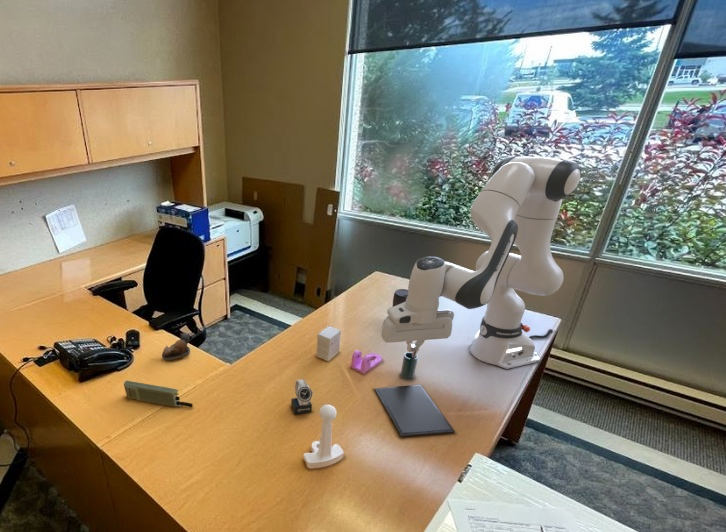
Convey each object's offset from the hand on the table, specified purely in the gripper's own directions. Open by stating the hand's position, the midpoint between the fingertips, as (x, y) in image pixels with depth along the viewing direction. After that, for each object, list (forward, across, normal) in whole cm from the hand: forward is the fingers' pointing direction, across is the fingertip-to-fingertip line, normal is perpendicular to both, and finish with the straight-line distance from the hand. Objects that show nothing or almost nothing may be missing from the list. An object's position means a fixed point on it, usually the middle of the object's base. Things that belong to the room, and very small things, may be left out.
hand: (412, 350), depth 129 cm
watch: (+20, +34, +1) cm, 40 cm away
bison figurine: (+20, +77, -35) cm, 87 cm away
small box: (+19, +18, -28) cm, 39 cm away
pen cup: (+19, -6, -11) cm, 23 cm away
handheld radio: (+20, +82, -8) cm, 85 cm away
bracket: (+19, +5, -20) cm, 28 cm away
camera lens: (+19, -18, -47) cm, 54 cm away
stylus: (+18, -6, -12) cm, 23 cm away
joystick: (+20, +33, +21) cm, 44 cm away
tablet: (+19, 0, +6) cm, 20 cm away
